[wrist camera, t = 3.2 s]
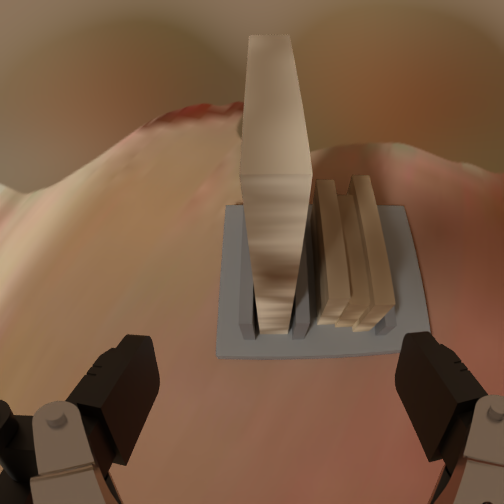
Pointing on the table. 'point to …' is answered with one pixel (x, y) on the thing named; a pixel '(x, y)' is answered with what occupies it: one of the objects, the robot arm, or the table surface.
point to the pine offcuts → (349, 256)
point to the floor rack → (304, 305)
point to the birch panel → (274, 177)
